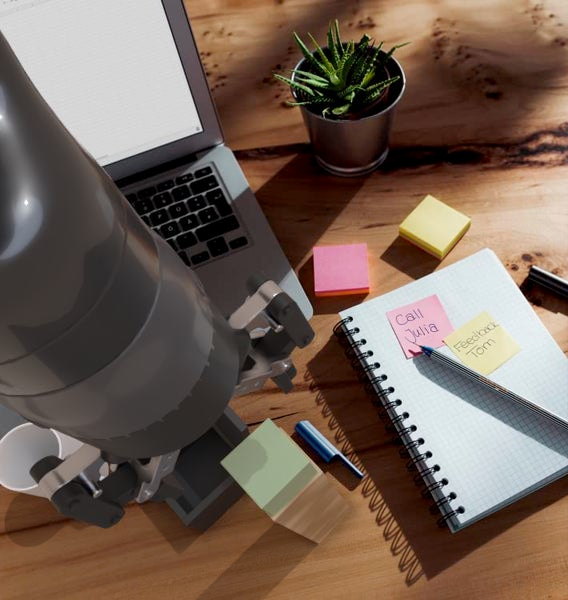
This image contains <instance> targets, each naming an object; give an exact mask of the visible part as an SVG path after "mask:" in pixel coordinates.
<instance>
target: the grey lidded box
mask: <svg viewBox="0 0 568 600" xmlns="http://www.w3.org/2000/svg"><path fill="white" fill-rule="evenodd" d="M235 448H236V447H235V446H234V445H233V444H232V443H231V441H230V440H229V439H228V438H227V437H226V436H225V435H224V434H223V433H222V431H221V430H220V429H219V428H218V427H217V426H216V425H215V424H213V426H212V427H211V428H210V429H209V430H208V431H206V432H205V433H204V434H203V435H202V436H200V437H199V438H198V439H196V440H195V441H193V442H192V443H190V444H189V445H187V446H185V447H183V448H181V449H180V452H179V455H178V458H177V460H176V463H175V466H174V469H173V471H172V472H171V474H172V475H173V476H174V477H175V478H176V480H177V481H178V482H179V483H180V484H181V485H182V486H183V488H184V489H185V492H184V493H183V494H182V495H181V496H180V497H178V498H177V499H176V500H174V499H171V498H168V497H167V498H166V499H165V500H164V502H165V503H166V504H167V506H168V507H169V508H170V509H171V511H173V513H174V514H175V515H176V516H177V517H178V519H180V521H181V522H182V523H183V525H184V526H185V527H187V528H191V529H194V530H197V531H200V532H201V531H202V532H207V531H208V530H209V529H210V528H211V527H212V526H213V525H214V524H215V523H216V522H218V520H219V519H220V518H222V516H223V515H224V514H226V513H227V512H228V511H229V510H230V509H231V508H232V507H233V506H234V505H235V504H236V503H237V502H238V501H239V500H241V498H242V497H244V495H245V494H247V493H246V491H245V490H244V489H243V488H242V487H241V486H240V485H239V484H238V482H237V481H236V480H235V479H234V478H233V477H232V476H231V474H230V473H229V472H228V471H227V470H226V469H225V468H224V467H223V465H222V464H221V463H220V462H221V461H222V460H223V459H224V458H225V457H226V456H228V455H229V454H230V453H231V452H232V451H233V450H234V449H235Z"/></svg>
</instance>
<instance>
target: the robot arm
mask: <svg viewBox="0 0 568 600" xmlns="http://www.w3.org/2000/svg"><path fill="white" fill-rule="evenodd" d="M244 287H245V290H246V291H247V292H248V293H249V294H250V295H248V296H247V297H246V298H245V300H244V301H245V302H244V303H243V304H241V306H240V307H238V308H237V309H236V310H235V311H234V312H233V313H232V314H229V313H225V312H221V311H220V310H219V309H218V307H217V305H216V304H215V303H214V302H213V300H212V299H211V298H210V296H209V295H208V293H207V292H206V291H205V287H204V284H203V283H202V282H201V279H200V277H199V276H198V275H197V273H196V272H195V270H193V269H191V267H190V266H189V265H187V264H186V262H185V261H184V260H183V259H182V258H181V257H180V256H179V254H178V252H176V250H175V249H173V247H172V246H171V244H169V243H168V242H167V241H166V240H165V239H164V238H163V237H162V236H161V235H160V234H159V233H158V232H156V231H155V230H154V229H153V228H151V227H150V226H149V225H148V224H147V223H146V222H145V221H144V220H143V219H142V218H141V216H140V215H139V214H138V212H137V211H136V209H135V208H134V207H133V206H132V204H131V203H130V202H129V200H128V198H126V196H125V195H124V194H123V192H122V191H121V190H120V188H119V187H118V186H117V184H116V182H114V180H113V179H112V178H111V176H110V175H109V174H108V173H107V171H106V170H105V169H104V167H102V165H101V164H100V163H99V162H98V161H97V159H96V158H95V157H94V156H93V154H92V153H90V151H89V150H88V149H87V148H86V147H85V145H83V144H82V143H81V142H80V141H79V140H78V138H77V137H76V136H75V135H74V134H73V133H72V132H71V131H70V129H69V128H68V127H67V126H66V125H65V123H64V122H63V121H62V119H61V118H60V117H59V116H58V115H57V113H56V112H55V110H53V108H52V107H51V106H50V104H49V103H48V102H47V100H46V99H45V98H44V96H43V95H42V93H41V92H40V91H39V89H38V88H37V87H36V85H35V84H34V82H33V81H32V79H31V77H30V76H29V75H28V73H27V72H26V69H25V68H24V66H23V65H22V62H21V61H20V60H19V57H18V56H17V55H16V53H15V51H14V49H13V48H12V46H11V44H10V43H9V40H7V38H6V35H4V33H3V32H2V30H1V29H0V404H1V405H2V406H3V407H5V408H6V409H8V410H10V411H12V412H14V413H16V414H18V415H19V416H20V417H21V418H22V419H24V420H26V422H28V423H32V424H34V425H36V426H38V427H40V428H42V429H45V428H46V429H53V430H56V431H58V432H60V433H63V434H65V435H67V436H70V437H72V438H74V439H77V440H79V441H81V442H83V443H85V444H84V445H83V446H82V447H80V448H79V449H78V450H77V451H76V452H74V453H73V454H69V455H67V456H66V457H65V458H64V460H62V459H60V458H58V457H56V456H54V455H50V456H46V457H44V458H42V459H41V460H39V461H38V462H36V463H35V464H34V465H33V466H32V467H31V469H30V471H29V474H30V475H31V477H32V478H33V479H34V480H35V482H36V483H37V484H38V486H39V487H40V488H41V490H42V491H43V492H44V494H45V495H46V496H47V497H48V498H47V499H48V500H49V502H51V504H52V505H53V506H54V508H55V509H56V510H57V511H58V513H59V514H60V515H61V516H64V517H67V518H70V519H73V520H76V521H79V522H83V523H85V524H88V525H92V526H95V527H98V528H102V529H104V530H108V529H110V528H112V527H113V526H114V527H115V526H116V525H117V524H118V523H120V521H122V520H123V518H124V516H125V515H126V512H127V511H126V510H125V509H124V507H125V506H126V505H128V504H129V503H131V502H132V501H134V500H135V501H136V502H137V503H138V504H143V503H145V502H147V501H150V502H153V503H156V504H159V503H162V502H165V499H166V498H167V497H168V498H171V499H174V500H176V499H177V498H178V497H180V496H181V495H182V494H183V493H184V492H185V489H184V488H183V486H182V485H181V484H180V483H179V482H178V481H177V480H176V478H175V477H174V476H173V475H172V474H171V472H172V471H173V469H174V466H175V463H176V460H177V458H178V455H179V452H180V449H181V448H183V447H185V446H187V445H189V444H190V443H192V442H193V441H195V440H196V439H198V438H199V437H200V436H202V435H203V434H204V433H205V432H206V431H208V430H209V429H210V428H211V427H212V426H213V424H214V423H215V422H216V421H217V420H218V419H219V417H220V416H221V415H222V413H223V412H224V410H225V408H226V407H227V405H230V404H231V402H232V400H233V399H235V398H238V397H241V396H243V395H248V394H251V393H253V392H256V391H259V390H261V389H263V388H264V386H265V385H266V383H267V381H268V379H270V380H271V381H272V382H273V383H274V384H275V385H276V386H277V387H278V388H279V389H280V390H281V391H282V392H283V393H284V394H285V395H288V394H289V393H290V392H291V391H292V390H293V389H294V388H295V387H296V386H295V384H294V382H293V379H294V378H296V376H297V373H298V370H297V368H296V366H295V364H294V358H293V357H292V356H291V354H292V353H293V352H294V350H296V348H298V349H300V350H303V349H304V348H306V347H307V346H309V345H310V344H311V343H312V342H313V340H314V339H315V337H316V332H315V331H314V329H313V327H312V325H311V324H310V322H309V320H308V319H307V317H306V316H305V314H304V312H303V311H302V309H301V308H300V306H299V304H298V303H297V302H296V301H295V300H294V299H293V298H292V297H291V296H290V295H289V294H288V293H287V292H286V291H285V290H284V289H283V288H282V287H281V286H279V285H278V284H277V283H276V281H274V280H273V279H272V278H271V277H270V276H269V275H268V274H267V273H266V272H265V271H263V270H257V271H255V272H254V273H253V274H251V275H250V276H249V277H248V278H247V280H246V282H245V286H244ZM259 328H260V329H262V330H257V329H259ZM268 328H269V329H268ZM263 329H264V330H263ZM265 329H268V330H267V331H265ZM254 330H257V331H254ZM105 462H107V463H108V465H109V464H110V465H109V470H110V471H111V472H110V474H108V476H107V477H105V478H104V479H102V480H101V481H100V480H99V479H100V477H101V474H100V473H99V470H100V468H101V466H102V465H103V464H104V463H105Z"/></svg>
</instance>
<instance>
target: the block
mask: <svg viewBox="0 0 568 600" xmlns="http://www.w3.org/2000/svg"><path fill="white" fill-rule="evenodd" d="M279 428H280V427H278V426H277V424H275V422H273V420H272V419H271V418H270V417H267V418H266V419H265V420H264V421H263V422H262V423H261V424H260V425H258V427H256V428H255V429H254V431H252V432H251V433H250V435H249V436H248V437H247V438H246V439H245V440H244V441H243V442H242V443H241V444H239V445H238V446H237V447H236V448H235V449H234V450H233V451H232V452H231V453H230V454H229V455H228V456H226V457H225V458H224V459H223V460H222V461H221V462H220V463H221V464H222V465H223V467H224V468H225V469H226V470H227V471H228V472H229V473H230V474H231V476H232V477H233V478H234V479H235V480H236V481H237V482H238V484H239V485H240V486H241V487H242V488H243V489H244V490H245V491H246V493H245V494H247V495H248V497H250V498H251V499H252V501H253V502H254V503H255V504H256V506H258V508H259V509H260V510H263V511H264V512H265V511H266V512H268V513H270V514H271V515H273V516H274V515H275V514H276V513H277V512H278V511H279V510H280V509H281V508H282V507H283V506H284V505H286V504H287V503H288V502H289V501H290V500H291V499H292V498H293V497H294V496H295V495H296V494H297V493H298V492H299V491H300V490H301V489H302V488H303V487H304V486H305V485H306V484H307V483H308V482H309V481H310V480H311V479H312V478H313V477H314V476H315V475H316V474H317V473H318V471H317V470H316V469H315V467H314V466H313V465H312V464H311V462H310V461H309V460H308V459H307V458H306V457H305V456H304V455H303V454H302V453H301V451H300V450H299V449H298V448H297V447H296V446H295V445H294V444H293V443H292V442H291V441H290V440H289V439H288V438H287V437H286V435H285V434H284V433H283V432H282V431H281V430H280V429H279ZM266 512H265V513H266Z"/></svg>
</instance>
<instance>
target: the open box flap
mask: <svg viewBox="0 0 568 600" xmlns="http://www.w3.org/2000/svg"><path fill="white" fill-rule="evenodd" d="M240 417H241V416H239V415H238V414H237V413H236V412H235V411H234V409H233V408H232V407H231V406H230V404H228V405H227V407H226V408H225V410H224V412H223V413H222V415H221V416H220V417H219V419H218V420H217V421H216V422H215V423H214V424H215V425H216V426H217V427H218V428H219V429H220V430H221V431H222V433H223V434H224V435H225V436H226V437H227V438H228V439H229V440H230V441H231V443H232V444H233V445H234V446H235V447H237V446H238V445H239V444H241V443H242V442H243V441H244V440H245V439H246V438H247V437H248V436H249V435H250V434H251V433H250V430H249V426H248V425H247V424H246V423H245V422H244V420H243V419H242V418H240Z"/></svg>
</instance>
